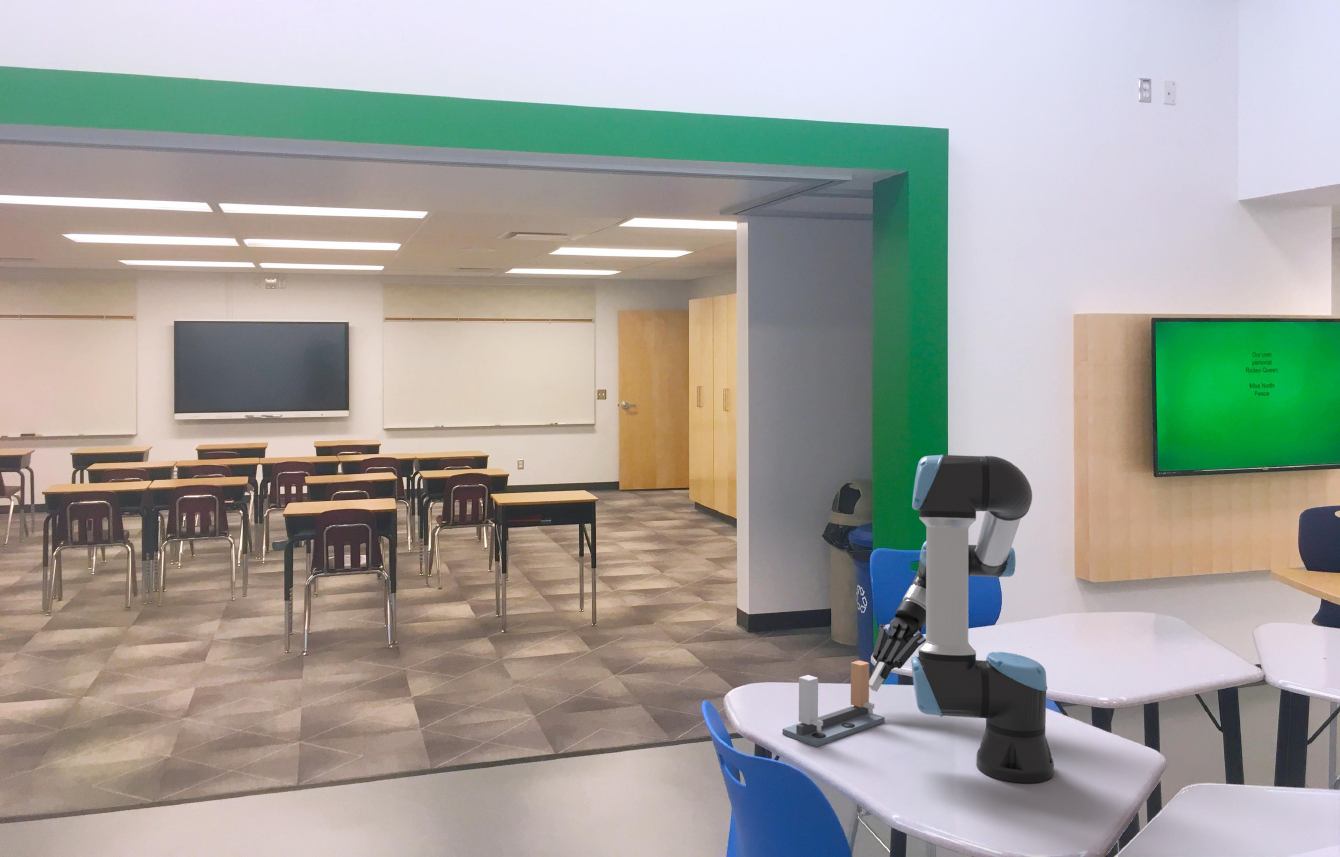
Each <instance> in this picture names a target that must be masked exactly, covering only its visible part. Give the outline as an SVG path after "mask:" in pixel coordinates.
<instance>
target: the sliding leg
mask: <svg viewBox="0 0 1340 857" xmlns="http://www.w3.org/2000/svg"><path fill="white" fill-rule="evenodd" d="M869 680H870V663H869V662H867V661H864V660H860V659H859V660H855V661H853V662H850V705H851V706H857V707H860V708H861V707H865V708H868V714H869V715H872V714H873V711H874V709H875V703H872V702H870V687H869Z"/></svg>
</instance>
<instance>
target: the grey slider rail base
mask: <svg viewBox="0 0 1340 857" xmlns="http://www.w3.org/2000/svg"><path fill="white" fill-rule="evenodd" d="M885 721H886V719H885V716H882V715H879V714H877V713H875V712H874V713H873V714H872V715H869V714H868V708H865V707H861V708H860V707H857V706H854V705H851V706H847V707H844V708H842V709H838V710H835V711H832V712H830V713H826V714H824V715H820V716H819V678H818V677H816V676H813V675H810V674H807V675H806V674H805V675H803V676H800V677H798V722H799V723H796V724H793V725H790V726H787V727H785V728H782V735H784V736H787V737H790V738H792V739H796V740H798V741H800V742H803V743H806V744H808V745H811V746H814V747H818V746H822V745H825V744H826V743H829V742H833V741H835V740H839V739H841V738H844V737H846V736H849V735H852V734H856V733H858V732H861V731H864V730H867V729H869V728H871V727H874V726H879V725H880V724H883V723H885Z"/></svg>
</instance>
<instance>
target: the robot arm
mask: <svg viewBox="0 0 1340 857" xmlns="http://www.w3.org/2000/svg"><path fill="white" fill-rule="evenodd" d="M914 478H915V479H914V484H913V493H912V505H911V507H912V509H913V510H915V511H919V512H918V513H919V514H918V515H919V516H918V517H919V520H920V521H921V522H922V523H923V524H924V526H925V527H926V530H925V531H926V534H925V535H926V540H925V541H924V542H923V544H922V546H921V548H920V549H921V550H920V552H919V562H918V568H917V573H916V574H915V576H914V579H913V581H912V583H910V586H909V588H907V591H906V592H905V594H904V596H903V598H902V601H901V602H900V604H899V605H898V608H897V609H896V611H895V615H894V617H893V619H892V620H890V621H889V623H888V624H885V625H884V624H883V623H880V624H879V626H878V632H879V633H878V636H877V638H876V643H875V645H874V649H873V653H872V655H871V656H872V658H873V659H874V660H875V662H876V663H875V665H874V666H873V668H872V670H871V674H872V675H871V677H869V689H870V690H871V691H873V692H874V691H875V692H876V693H877V692H878V691H879V689H880V688H881V686H882V684H883V682H884V680H887V679H888V677H890V676H889V675H890V674H891V671H892V670H894V669H895V668H896V669H901V668H903V666H904V665H905V664H906V662H907V661H908V660H909V659H910V658H911V657H912V656H913V654H915V651H916V650H918V655H915V656H913V657H912V658H911V661H910V662H911V672H912V681H913V687H914V688H913V690H914V696H915V701H916V705H917V709H918V710H919V711H920V712H921V714H925V715H930V716H938V717H941V718H943V717H958V718H973V719H985V730H984V733H983V737H982V738H981V739H982V740H981V742H980V745H979V748H978V750H977V752H976V758H975V759H976V761H975V762H976V764H975V765H976V767H977V769H978V770H979V771H981V773H983V774H985V775H987V776H989V777H991V778H994V779H998V780H1002V781H1007V782H1012V783H1017V784H1019V783H1020V784H1034V783H1042V782H1045V781H1048V780H1050V779H1052V778H1053V776H1054V771H1055V769H1054V768H1055V763H1054V759H1053V757H1052V753H1051V749H1050V747H1049V743H1048V739H1047V736H1046V723H1047V721H1046V720H1047V718H1046V714H1047V712H1046V711H1047V690H1048V686H1047V685H1048V684H1047V672H1046V669H1045V667H1044V666H1043V665H1042V664H1041V663H1040V662H1038V661H1037V660H1035V659H1033V658H1030V657H1027V656H1025V655H1021V654H1017V653H1012V652H1006V651H1005V652H1004V651H996V652H995V651H992V652H989V653H988V654H987V656H986V657H985V659H986V660H982V659H981V660H979V659H977V652H976V651H977V650H975V649H974V648H973V646H971V645H970V643H969V577H989V578H1011V577H1012V576H1014V574H1015V572H1016V552H1015V549H1014V548H1013V547H1012V546H1013V544H1014V539H1015V537H1016V534H1017V531H1018V528H1019V525H1020V523H1021V520H1022V518H1024V517H1025V516H1026V515H1027V514H1028V513H1029V510H1030V508H1031V507H1032V506H1031V505H1032V502H1033V491H1032V487H1031V484H1030V482H1029V480H1028V478H1027V476H1026V475H1025V474H1024V473H1023V471H1022V470H1021V468H1019V467H1018V466H1016V465H1015V464H1013V463H1012V462H1011V461H1008V460H1006V459H1005V458H1002V457H998V456H993V455H984V456H983V455H959V454H958V455H955V454H953V455H952V454H935V455H926V456H925V455H924V456H923V457H921V458H920V460H918V464H917V467H916V473H915V477H914ZM977 512H984V516H983V520H982V523H981V526H980V530H979V535H978V539H977V543H976V544H969V528H970V527H971V525H972V524H973V523H975V522H976V520H977ZM924 627H925V635H923V634H922V629H924Z"/></svg>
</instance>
